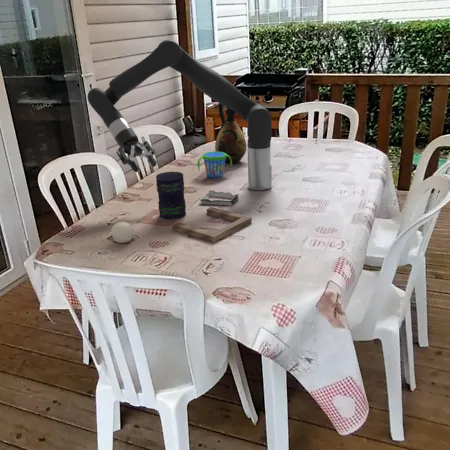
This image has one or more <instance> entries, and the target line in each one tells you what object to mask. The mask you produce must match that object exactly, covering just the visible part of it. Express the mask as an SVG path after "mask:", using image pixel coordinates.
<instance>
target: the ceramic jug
mask: <svg viewBox="0 0 450 450" xmlns="http://www.w3.org/2000/svg"><path fill="white" fill-rule="evenodd" d="M223 107H224V105H222V104H220V103H218V113H219V117H220V121H221V125H220V129H219V132H218V135H217V136H216V139H215V144H214V149H215V152H224V153H226V154H227V155H229V156H230V158H231V160H232V166H233V165H239V164H240V163H241V160H242V159H243V158H244V156H245V154H246V153H247V141H246V138H245V135H244V132H243V131H242V129H241V126H239V124H238V123H237V121H236V120H235V115H236V114H237V113H236V112H235V111H233V110H232V109H230V108H228V107H226V110H225V112H224V109H223ZM224 113H225V114H224ZM225 115H227V116H226V118H225ZM230 158H229V157H228V156H227V157H226V159H225V165H227V166H228V165H229V166H230Z"/></svg>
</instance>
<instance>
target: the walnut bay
mask: <svg viewBox="0 0 450 450" xmlns="http://www.w3.org/2000/svg"><path fill="white" fill-rule="evenodd" d="M206 215H209V216H212V217H217V218H219V219H223V220H227V221H230V220H232V221H231V223H229V224H227V225H225V226H223V227H221V228H218V229H217V230H215V231H213V232H212V231H209V230H205V229H203V228H200V227H195V226H192V225H189V224H186V223H183V222H179V221H177V222H174V223H173V224H171V226H172V230H173V231H176V232H179V233H181V234H185V235H188V236H192V237H195V238H198V239H201V240H204V241H207V240H208V241H207V242H210V241H211V243H213V242H214V243H216V242H218V241H220V240H222V239H223V237H224V238H226V237H228V236H230V235H231V234H233V233H235V232H237V231H239V230H241V229H242V227H243V228H245V227H246V225H247V226H249V225H251V224H252V223H253V222H252V220H253V219H252V217H251V216H248V215H245V214H240V213H236V212H232V211H228V210H224V209H221V208H217V207H214V206H210V207H208V208H207V209H206ZM234 221H235V222H234ZM251 222H252V223H251ZM248 224H249V225H248ZM244 226H245V227H244ZM240 228H241V229H240ZM238 229H239V230H238ZM236 230H237V231H236ZM234 231H235V232H234ZM232 232H233V233H232ZM230 233H231V234H230ZM229 234H230V235H229ZM227 235H228V236H227ZM225 236H226V237H225ZM221 238H222V239H221ZM219 239H220V240H219ZM217 240H218V241H217Z"/></svg>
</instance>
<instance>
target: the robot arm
mask: <svg viewBox="0 0 450 450" xmlns="http://www.w3.org/2000/svg"><path fill="white" fill-rule="evenodd" d="M168 67H169V68H171V69H173V70H175V71H176V72H178V73H180V74H181V75H183V76H184V77H185V78H186V79H188V80H189V81H190V82H191V83H192V85H194V86H195V87H196V88H197V89H198V90H199V91H201V93H203V94H205V95H206V96H208V97H209V98H210V99H212V101H214V102H216V103H217V104H222V105H223V107H226V108H230V109H232V110H233V111H235V112H236V114H237V115H239V116H240V117H241V118H242V119H243V120H244V121H245V122H246V123H247V130H248V131H247V136H248V137H247V176H248V177H247V178H248V180H247V181H248V182H247V183H248V185H247V186H248V188H249V190H253V191H264V190H265V189H266V190H269V189H272V188H273V187H272V186H273V185H272V184H273V183H272V182H273V181H272V179H273V176H272V175H273V174H272V173H273V171H272V165H271V143H272V142H271V140H272V126H273V125H272V115H271V112H270V111H269V110H268V109H267V108H266V106H264V105H261V104H259V103H258V102H256V101H254V100H252V99H250V98H249V97H248V96H246V95H245V94H243V93H242V92H241V91H240V90H239V89H238V88H237V87H236V86H235V85H234V84H232V83H231V82H230V81H229V80H228V79H226V77H224V76H223V75H221V74H220V73H219V72H217V71H215V70H214V69H212V68H211V67H209V66H207V65H205V64H204V63H201V62H200V61H198V60H196V59H195V58H194V57H192V56H191V55H190V54H188V52H186V51H185V50H184V49H183V48H182V47H181V46H180V45H179V44H178V43H177V41H175V40H173V39H164V40H162V41H161V42H160V43H159V44H158V45H157V47H156V48H155V49H154V50H153V51H152V52H151V53H149V55H148V56H146V57H145V58H143V59H142V60H141V61H139V62H138V63H136V64H134V65H132V66H131V67H129V68H127V69H126V70H124V71H122V72H121V73H119V74H118V75H117V76H115V77H114V78H112V79H111V80H110V81H109V83H108V85H109V87H107V89H106V90H105V91H104V89H101V88H99V87H93V88H91V89H90V90H89V91H88V93H87V101H88V103H89V105H90V106H91V108H93V110H94V111H95V113H97V115H98V116H99V117H100V118H101V119H102V121H103V123H104V125H105V126H106V127H107V129H108V131H109V132H110V134H111V136H112V137H113V139H114V140H115V142H116V143H117V146H118V149H117V151H116V155H117V157H118V158H119V159H120V161H121V163H122V165H124V166H125V165H128V166H129V167H131V169H132V171H133V172H135V173H138V172H139V171H140V168H139V166H138V164H137V163H136V161H135V160H134V159H135V158H136V157H142V158H146V159H147V161H148V162H149V163H150V165H151V166H152V168H155V167H156V166H157V164H158V163H157V161H156V158H154V155H155V153H156V151H155V149H154V148H153V147H152V146H151V144H150V143H149V142H148V140H145V141H144V142H142V143H141V141H139V137H138V135H137V134H136V133H135V131H134V129H133V128H132V127H131V125H130V124H129V122H128V121H127V120H126V119H125V117H124V116H123V115H122V114H121V111H119V110H118V109H117V108H116V106H115V105H116V104H117V103H118V102H119V101H120V100H121V99H122V97H124V96H125V95H126V94H129V93H130V92H131V91H133V90H134V89H135V88H137V87H138V86H140V85H141V84H142V83H143V82H145V81H146V80H148V78H150V77H152V76H153V75H155V74H157V73H158V72H160V71H162V70H165V69H166V68H168Z"/></svg>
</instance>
